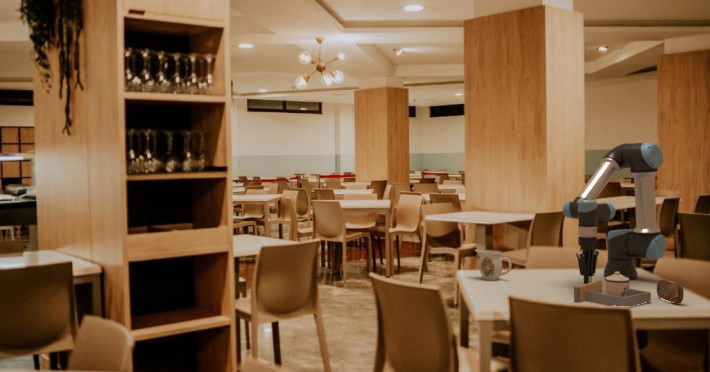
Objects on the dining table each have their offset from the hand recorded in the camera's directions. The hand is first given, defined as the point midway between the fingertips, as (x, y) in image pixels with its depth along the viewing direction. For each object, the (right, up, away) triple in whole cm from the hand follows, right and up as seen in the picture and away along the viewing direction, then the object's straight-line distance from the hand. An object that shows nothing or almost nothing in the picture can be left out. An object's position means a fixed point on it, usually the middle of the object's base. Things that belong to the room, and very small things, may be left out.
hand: (587, 290), depth 272 cm
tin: (+26, -2, -18) cm, 32 cm away
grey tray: (+4, -2, -17) cm, 17 cm away
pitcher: (-33, 0, +35) cm, 48 cm away
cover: (-2, -1, -9) cm, 9 cm away
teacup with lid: (+6, -1, -17) cm, 18 cm away
